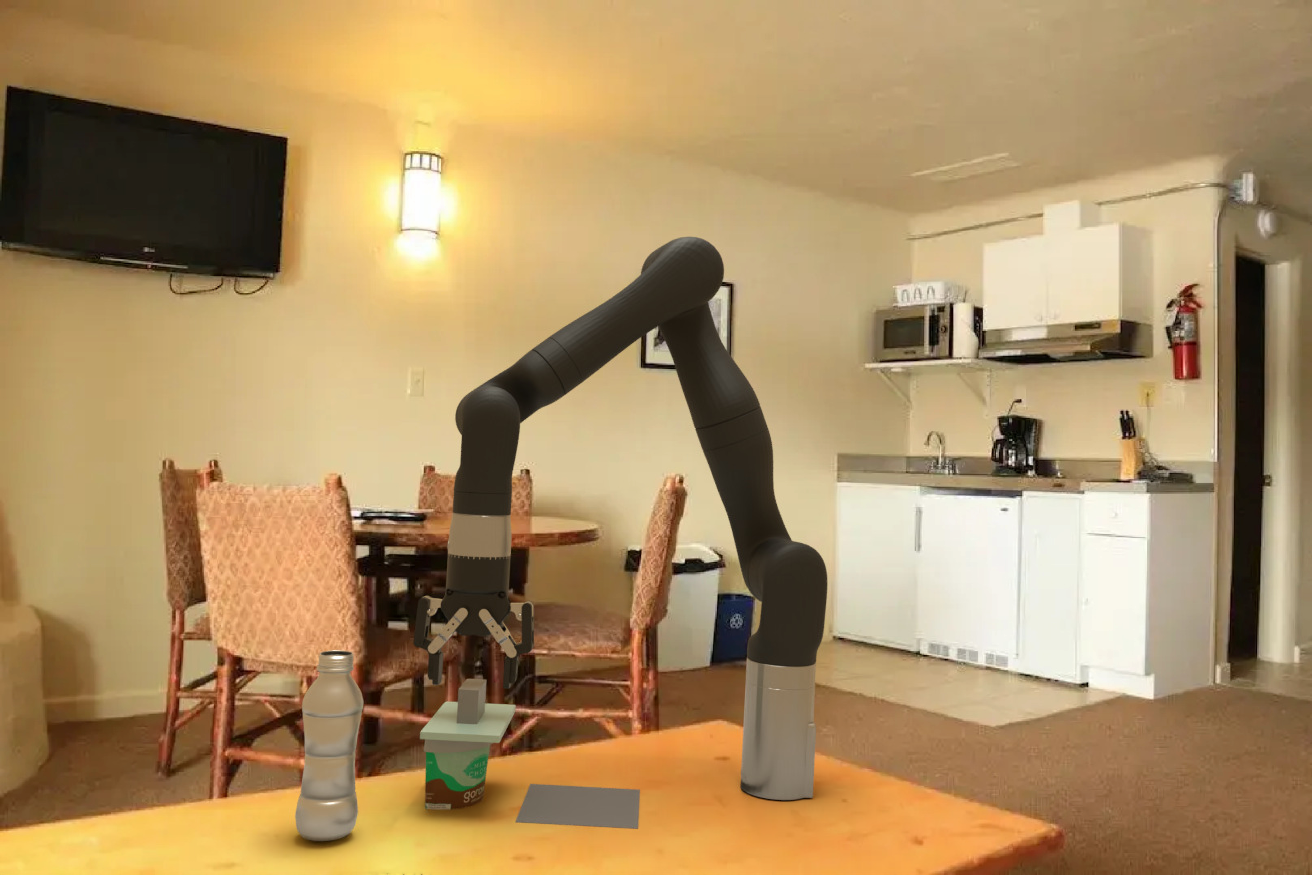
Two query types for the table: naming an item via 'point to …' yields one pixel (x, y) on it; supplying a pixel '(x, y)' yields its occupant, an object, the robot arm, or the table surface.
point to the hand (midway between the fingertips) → (471, 685)
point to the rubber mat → (580, 806)
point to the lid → (469, 717)
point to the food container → (455, 773)
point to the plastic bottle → (330, 750)
